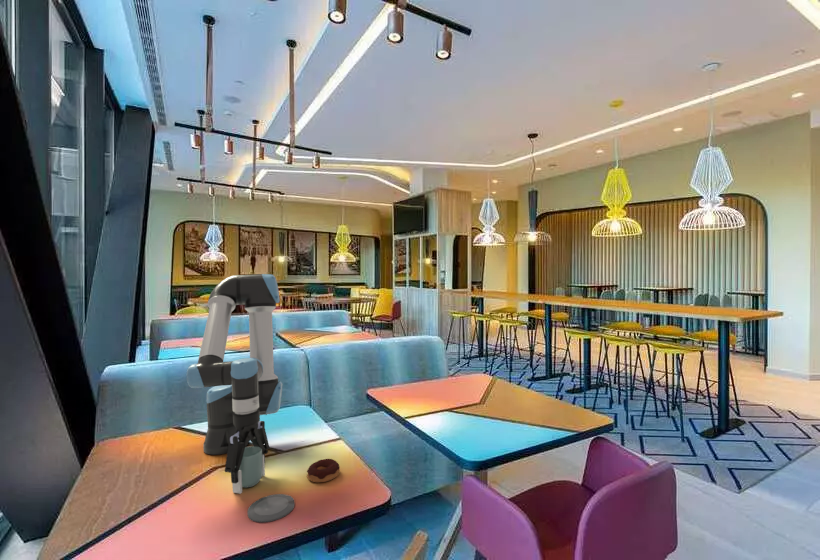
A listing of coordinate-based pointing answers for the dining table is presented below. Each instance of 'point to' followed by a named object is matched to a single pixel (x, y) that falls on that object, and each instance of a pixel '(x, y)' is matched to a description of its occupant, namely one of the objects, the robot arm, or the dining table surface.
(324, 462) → the donut
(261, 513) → the disc
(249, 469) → the cup
